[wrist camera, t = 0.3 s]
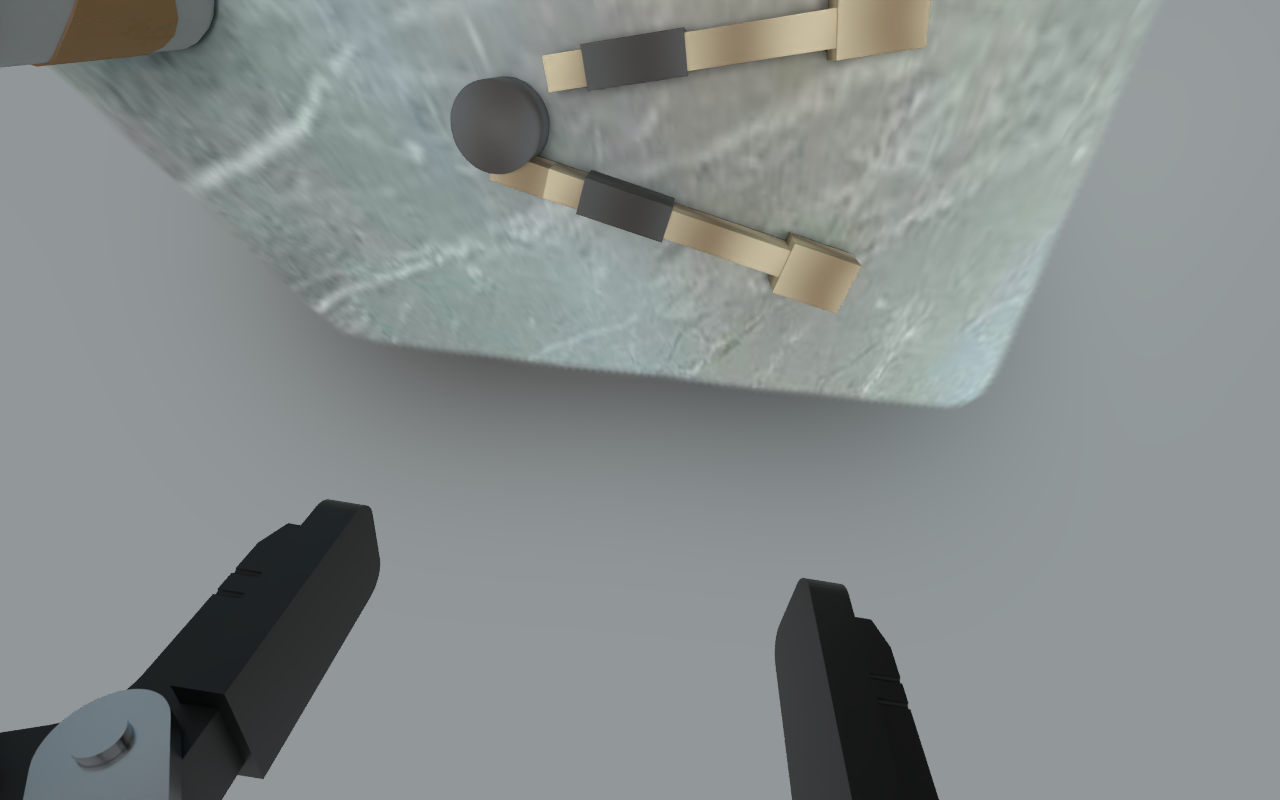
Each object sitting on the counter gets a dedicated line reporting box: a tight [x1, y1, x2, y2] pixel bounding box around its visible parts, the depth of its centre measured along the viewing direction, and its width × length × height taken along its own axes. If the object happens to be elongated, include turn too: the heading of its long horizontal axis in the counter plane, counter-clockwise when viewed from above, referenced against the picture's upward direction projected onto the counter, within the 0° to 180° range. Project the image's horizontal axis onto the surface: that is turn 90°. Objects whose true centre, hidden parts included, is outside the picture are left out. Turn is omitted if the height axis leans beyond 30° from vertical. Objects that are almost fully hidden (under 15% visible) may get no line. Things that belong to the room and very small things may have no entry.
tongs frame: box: [451, 77, 861, 313], centre depth 32 cm, size 23×6×3 cm, turn 73°
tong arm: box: [542, 0, 931, 92], centre depth 28 cm, size 18×3×2 cm, turn 98°
